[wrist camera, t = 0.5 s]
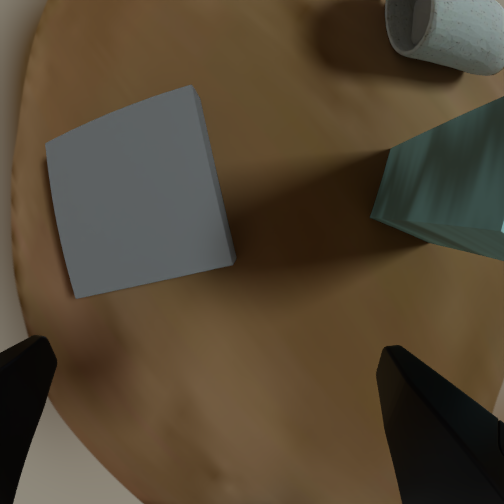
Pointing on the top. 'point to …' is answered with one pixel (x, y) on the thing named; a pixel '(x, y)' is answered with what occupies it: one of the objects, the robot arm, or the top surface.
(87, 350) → the top surface
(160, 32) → the top surface
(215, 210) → the gray square slab
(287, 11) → the top surface
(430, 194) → the teal block
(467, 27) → the ceramic mug
